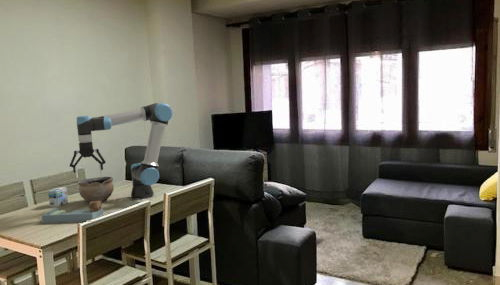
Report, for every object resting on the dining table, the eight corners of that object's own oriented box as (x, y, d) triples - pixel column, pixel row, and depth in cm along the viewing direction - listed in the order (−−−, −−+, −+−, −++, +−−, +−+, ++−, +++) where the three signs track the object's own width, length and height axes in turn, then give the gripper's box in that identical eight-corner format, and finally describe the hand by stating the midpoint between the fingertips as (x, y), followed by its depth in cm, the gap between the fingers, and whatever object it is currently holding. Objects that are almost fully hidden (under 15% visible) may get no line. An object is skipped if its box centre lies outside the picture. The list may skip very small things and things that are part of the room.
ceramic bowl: (81, 207, 265) (79, 184, 263) (78, 200, 284) (76, 179, 282) (117, 201, 275) (115, 179, 273) (112, 195, 294) (110, 174, 292)
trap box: (104, 212, 250) (103, 205, 249) (92, 221, 234) (91, 213, 234) (56, 214, 252) (56, 207, 251) (42, 223, 236) (41, 215, 235)
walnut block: (101, 208, 248) (100, 200, 247) (98, 211, 243) (97, 202, 242) (93, 209, 248) (92, 201, 248) (89, 211, 243) (88, 203, 243)
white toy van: (58, 207, 270) (56, 190, 269) (49, 207, 272) (47, 191, 270) (68, 202, 281) (67, 187, 279) (59, 202, 282) (58, 187, 281)
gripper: (107, 139, 257) (111, 173, 260) (63, 142, 250) (67, 177, 253) (107, 140, 250) (110, 175, 252) (62, 144, 243) (66, 180, 246)
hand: (89, 176), depth 253 cm, fingers open, 13 cm apart
